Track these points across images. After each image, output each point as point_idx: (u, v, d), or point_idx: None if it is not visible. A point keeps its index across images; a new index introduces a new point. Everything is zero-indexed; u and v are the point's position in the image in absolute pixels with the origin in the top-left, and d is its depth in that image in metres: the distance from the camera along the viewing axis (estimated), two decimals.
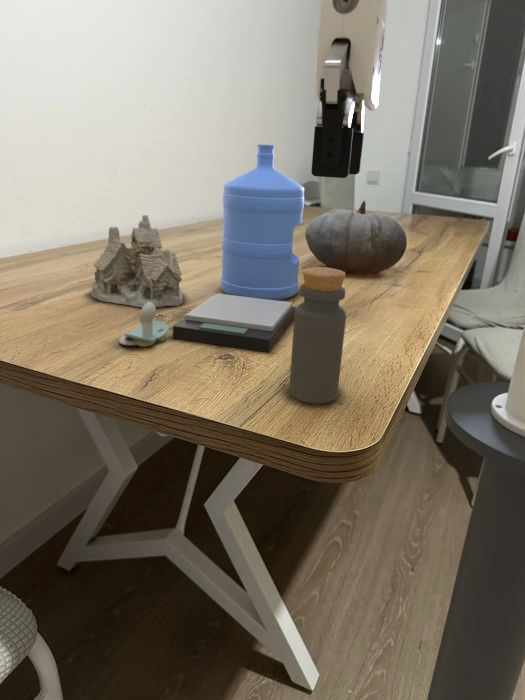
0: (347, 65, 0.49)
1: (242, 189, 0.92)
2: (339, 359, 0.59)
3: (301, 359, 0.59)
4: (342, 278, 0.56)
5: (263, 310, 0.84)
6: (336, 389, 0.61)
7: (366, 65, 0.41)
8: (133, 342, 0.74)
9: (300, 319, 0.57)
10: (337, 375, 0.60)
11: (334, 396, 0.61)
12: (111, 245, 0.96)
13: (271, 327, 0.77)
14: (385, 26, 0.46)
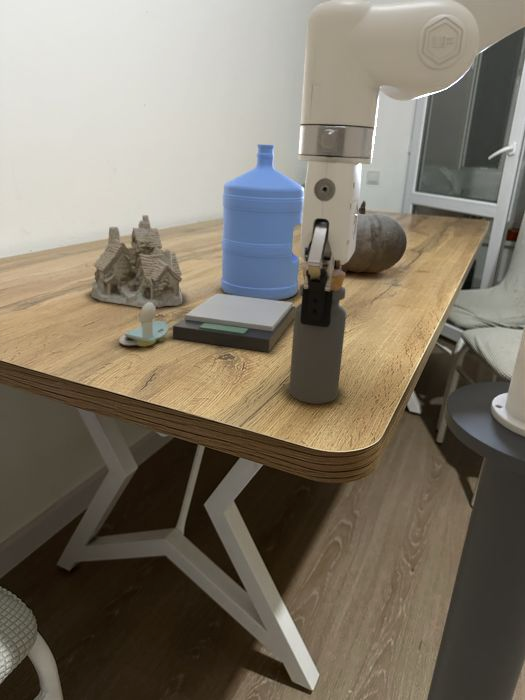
0: None
1: (242, 189, 0.92)
2: (339, 359, 0.59)
3: (301, 359, 0.59)
4: (342, 278, 0.56)
5: (263, 310, 0.84)
6: (336, 389, 0.61)
7: (341, 240, 0.51)
8: (133, 342, 0.74)
9: None
10: (337, 375, 0.60)
11: (334, 396, 0.61)
12: (111, 245, 0.96)
13: (271, 327, 0.77)
14: (359, 194, 0.55)
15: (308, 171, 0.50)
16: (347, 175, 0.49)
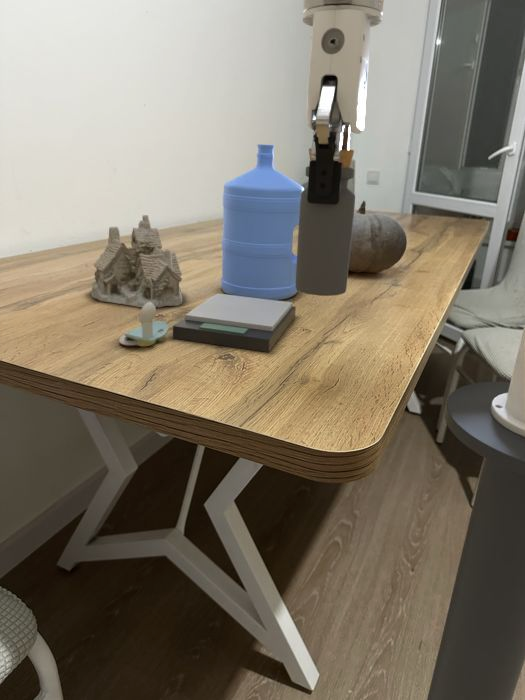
0: None
1: (242, 189, 0.92)
2: (348, 247, 0.56)
3: (308, 246, 0.55)
4: (351, 153, 0.53)
5: (263, 310, 0.84)
6: (345, 281, 0.57)
7: (351, 98, 0.47)
8: (133, 342, 0.74)
9: (306, 201, 0.54)
10: (346, 265, 0.57)
11: (343, 289, 0.57)
12: (111, 245, 0.96)
13: (271, 327, 0.77)
14: (368, 60, 0.51)
15: (314, 23, 0.47)
16: (357, 23, 0.46)
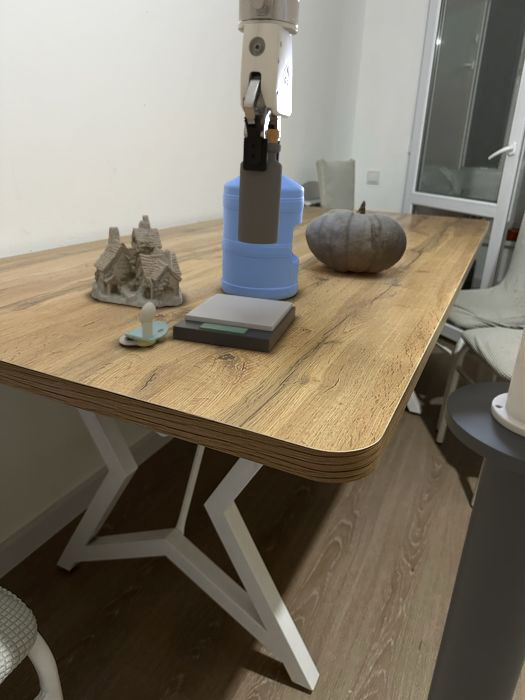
0: None
1: None
2: (277, 206, 0.72)
3: (245, 205, 0.71)
4: (277, 132, 0.69)
5: (263, 310, 0.84)
6: (276, 234, 0.73)
7: (271, 89, 0.63)
8: (133, 342, 0.74)
9: (243, 169, 0.70)
10: (276, 220, 0.72)
11: (274, 240, 0.73)
12: (111, 245, 0.96)
13: (271, 327, 0.77)
14: (290, 61, 0.67)
15: (244, 32, 0.62)
16: (274, 33, 0.61)
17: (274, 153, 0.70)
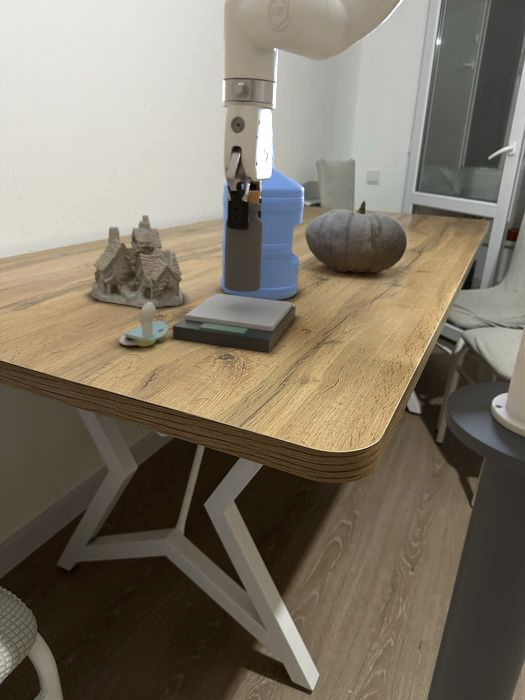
0: None
1: None
2: (259, 258, 0.80)
3: (230, 257, 0.80)
4: (257, 194, 0.77)
5: (263, 310, 0.84)
6: (258, 282, 0.82)
7: (251, 161, 0.71)
8: (133, 342, 0.74)
9: None
10: (258, 270, 0.81)
11: (256, 287, 0.82)
12: (111, 245, 0.96)
13: (271, 327, 0.77)
14: (269, 132, 0.76)
15: (227, 112, 0.71)
16: (253, 114, 0.70)
17: (255, 212, 0.78)
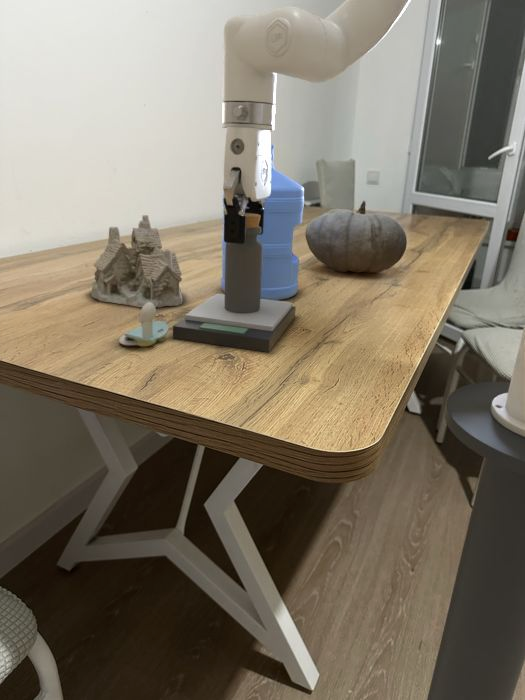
0: None
1: None
2: (258, 280, 0.81)
3: (230, 279, 0.81)
4: (257, 218, 0.78)
5: (263, 310, 0.84)
6: (257, 303, 0.83)
7: (250, 182, 0.72)
8: (133, 342, 0.74)
9: (228, 249, 0.80)
10: (257, 292, 0.82)
11: (256, 308, 0.83)
12: (111, 245, 0.96)
13: (271, 327, 0.77)
14: (268, 152, 0.77)
15: (226, 134, 0.72)
16: (252, 136, 0.71)
17: (255, 235, 0.79)
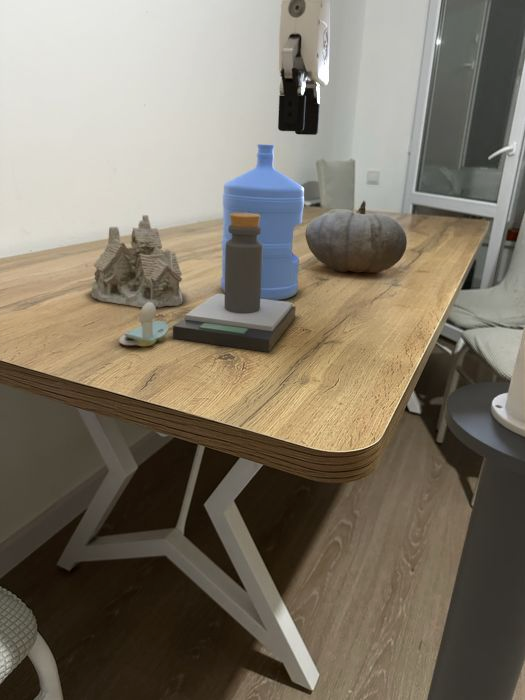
0: None
1: (242, 189, 0.92)
2: (258, 280, 0.81)
3: (230, 279, 0.81)
4: (257, 218, 0.78)
5: (263, 310, 0.84)
6: (257, 303, 0.83)
7: (312, 52, 0.61)
8: (133, 342, 0.74)
9: (228, 249, 0.80)
10: (257, 292, 0.82)
11: (256, 308, 0.83)
12: (111, 245, 0.96)
13: (271, 327, 0.77)
14: (328, 25, 0.65)
15: None
16: None
17: (255, 235, 0.79)
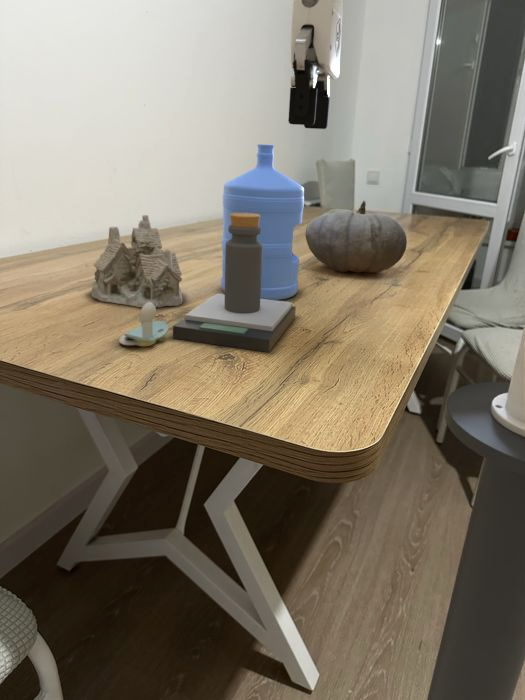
0: None
1: (242, 189, 0.92)
2: (258, 280, 0.81)
3: (230, 279, 0.81)
4: (257, 218, 0.78)
5: (263, 310, 0.84)
6: (257, 303, 0.83)
7: (325, 43, 0.59)
8: (133, 342, 0.74)
9: (228, 249, 0.80)
10: (257, 292, 0.82)
11: (256, 308, 0.83)
12: (111, 245, 0.96)
13: (271, 327, 0.77)
14: (341, 17, 0.64)
15: None
16: None
17: (255, 235, 0.79)
